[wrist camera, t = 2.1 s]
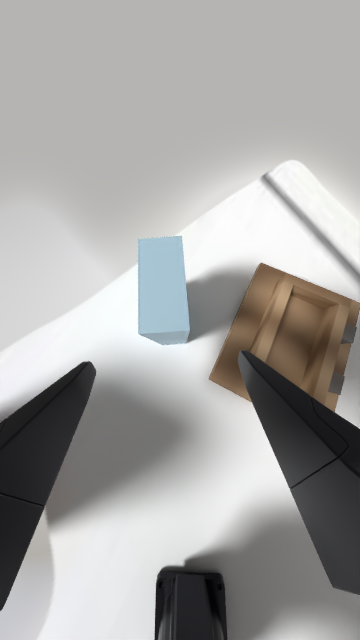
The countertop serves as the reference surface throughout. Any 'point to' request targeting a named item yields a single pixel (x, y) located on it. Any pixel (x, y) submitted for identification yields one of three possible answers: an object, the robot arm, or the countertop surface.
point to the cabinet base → (291, 335)
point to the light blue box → (162, 291)
